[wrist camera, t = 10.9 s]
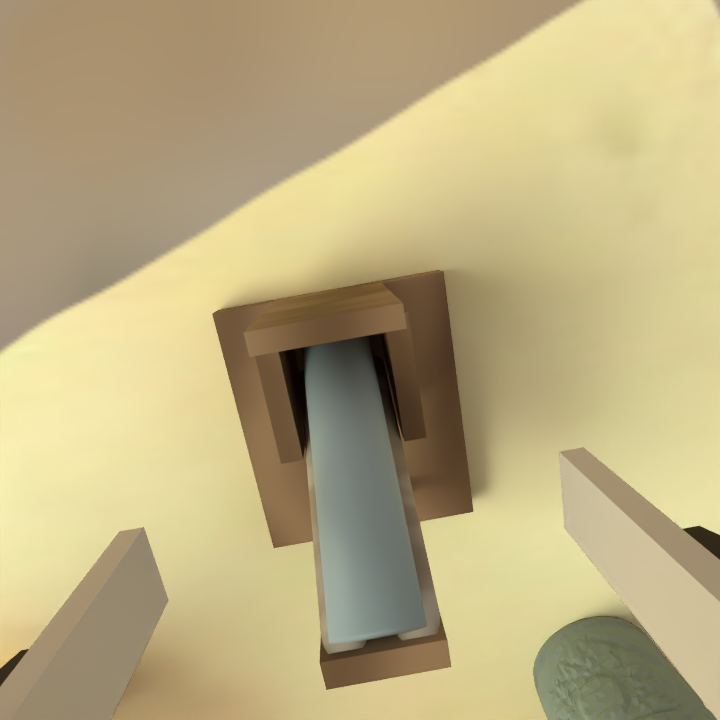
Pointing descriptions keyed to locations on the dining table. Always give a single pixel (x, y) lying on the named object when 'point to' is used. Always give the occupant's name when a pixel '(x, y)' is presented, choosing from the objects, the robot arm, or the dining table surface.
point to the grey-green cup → (611, 676)
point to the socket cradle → (404, 423)
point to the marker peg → (358, 498)
